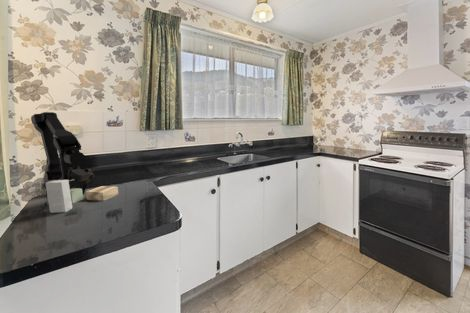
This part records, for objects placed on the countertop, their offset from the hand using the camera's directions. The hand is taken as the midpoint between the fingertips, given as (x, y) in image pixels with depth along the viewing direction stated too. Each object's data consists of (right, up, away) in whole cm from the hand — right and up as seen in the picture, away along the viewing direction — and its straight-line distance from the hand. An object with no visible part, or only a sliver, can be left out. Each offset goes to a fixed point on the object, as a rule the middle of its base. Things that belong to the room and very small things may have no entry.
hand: (73, 198), depth 100 cm
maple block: (+11, 0, +4) cm, 11 cm away
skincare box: (+3, -3, -12) cm, 12 cm away
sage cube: (0, -1, 0) cm, 1 cm away
